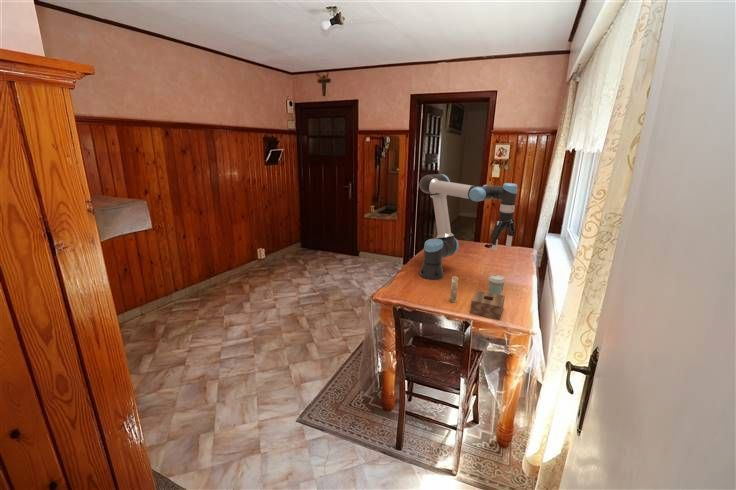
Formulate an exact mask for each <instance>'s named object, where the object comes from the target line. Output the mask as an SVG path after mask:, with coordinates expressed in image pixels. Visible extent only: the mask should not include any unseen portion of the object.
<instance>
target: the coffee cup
mask: <svg viewBox="0 0 736 490" xmlns="http://www.w3.org/2000/svg"><path fill="white" fill-rule="evenodd" d="M505 283H506V280H505V277H504V276H503V275H500V274H491V275H490V276H489V277H488V293H493V294H498V295H502V292H503V289H504V286H505V285H504V284H505Z"/></svg>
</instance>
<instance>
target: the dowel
mask: <svg viewBox="0 0 736 490" xmlns="http://www.w3.org/2000/svg"><path fill="white" fill-rule="evenodd" d="M458 285H459V277H458V276H456V275H454V276H451V286H450V287H451V288H450V297H449V298H450V299H449V302H450V303H457V293H458Z"/></svg>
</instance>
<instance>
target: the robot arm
mask: <svg viewBox="0 0 736 490" xmlns="http://www.w3.org/2000/svg"><path fill="white" fill-rule="evenodd" d="M419 189H420V190H421V191H422V192H423V193H425V194H429V196H430V198H432V202H433V209H434V215H435V225H436V231H437V235H436V237H435V238H430V239H427V240H426V241H424V247H423V261H422V266H421V268H420V271H419V276H420V277H421V278H424V279H426V280H441V279H443V278H444V270H443V265H442V262H443V259H444V258H446V257H450V256H453V255H455V254H456V253H457V252H458V251H459V245H460V244H459V241H458V239H457V238H456V237H455V234H453V233H452V231H451V230H452V229H451V223H450V214H449V208H448V201H447V196H451V197H458V198H463V199H467V200H471V201H473V202H482V201H488V200H497V201H500V205H499V213H498V218H499V220H496V221H495V225H494V228H493V230H492V233H491V235H490V239H492V243H491V244H492V245H491V251H496V252H497V250H498V249H497V248H498V244H499V243H498V242H499V239H498V238H499V236H500V235H501V233H502V232H503V231H504V230H506V232H507V235H506V236H507V237H506V243H505V247H507V248H508V247H509V248H511V247H512V242H513V241H512V240H513V237H514V236H515V235H516V228H515V219H514V215H515V209H516V208H515V207H516V201H517V196H518V184H517V183H511V182H505V183H503V185H502V186H500V185H494V184H493V185H492V184H484V185H482V186H477V185H472V184H471V185H470V184H464V183H458V182H452V181H450V178H449V177H448V175H445V174H443V173H436V174H435V173H434V174H427V175H424V176H423V177H421V179H420V181H419Z"/></svg>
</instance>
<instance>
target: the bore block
mask: <svg viewBox="0 0 736 490" xmlns="http://www.w3.org/2000/svg"><path fill="white" fill-rule="evenodd" d="M505 297H506V296H505V295H502V294H501V295H498V294H493V293H489V291H488V292H487V291H484V290H483V291H482V290H476V292H475V293H474V295H473V297H472V299H471V302H470V310H469V313H470V314H473V315H478V316H480V317H486V318H489V319H494V320H497V321H500V320H501V316H502V313H503V309H504V305H505Z"/></svg>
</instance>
